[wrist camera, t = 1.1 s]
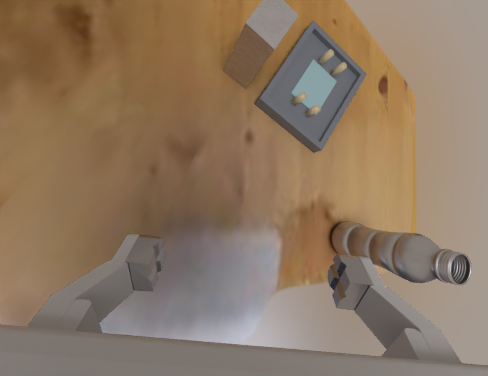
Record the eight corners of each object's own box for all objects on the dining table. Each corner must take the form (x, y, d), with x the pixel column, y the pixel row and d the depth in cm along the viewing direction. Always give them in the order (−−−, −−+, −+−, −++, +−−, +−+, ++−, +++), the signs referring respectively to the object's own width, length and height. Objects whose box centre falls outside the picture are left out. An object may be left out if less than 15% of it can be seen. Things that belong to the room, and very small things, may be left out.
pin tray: (254, 103, 42) (264, 93, 38) (305, 29, 45) (320, 12, 41) (313, 152, 45) (328, 148, 41) (357, 79, 49) (375, 68, 44)
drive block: (223, 70, 40) (245, 22, 29) (243, 43, 42) (272, -13, 30) (244, 88, 42) (274, 49, 30) (263, 62, 43) (299, 14, 31)
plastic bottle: (350, 215, 48) (473, 231, 29) (358, 248, 48) (484, 285, 29) (323, 226, 46) (435, 250, 27) (331, 260, 46) (448, 308, 27)
